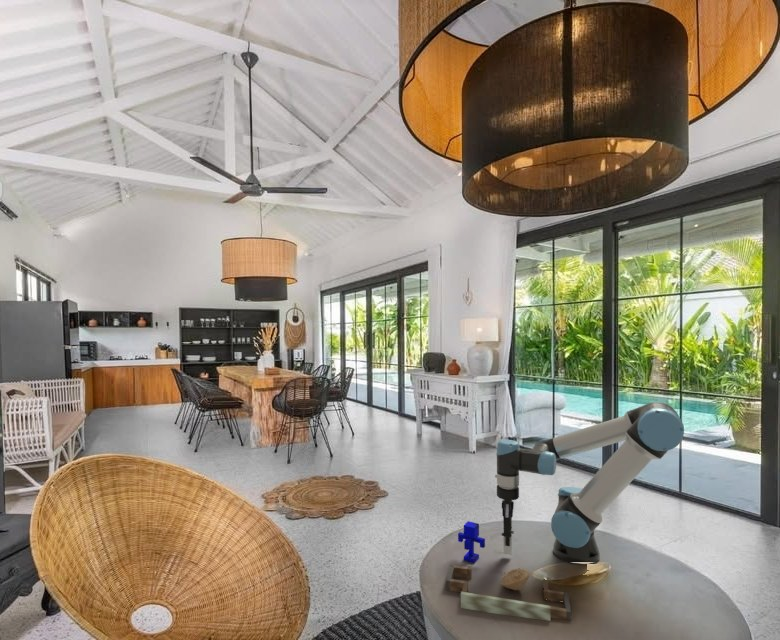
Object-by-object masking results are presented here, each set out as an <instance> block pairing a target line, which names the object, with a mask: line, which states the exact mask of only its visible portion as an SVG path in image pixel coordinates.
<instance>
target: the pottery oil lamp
mask: <svg viewBox="0 0 780 640" xmlns="http://www.w3.org/2000/svg"><path fill="white" fill-rule="evenodd" d="M530 575H531V572H529V571H527V570H526V569H524V568H521V567H519V568H515V569H511V570H508V571H505V572H504V575H503V577H502V579H501V586H502V587H504V588H506V589H509V590H512V591H519V590H522V589H524V588H525V587H526V584H527V583H528V581H529V578H530Z"/></svg>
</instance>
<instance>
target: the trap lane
mask: <svg viewBox="0 0 780 640" xmlns="http://www.w3.org/2000/svg"><path fill="white" fill-rule="evenodd" d="M448 570H449V571H448V573H447V577H446V580H445V581H446V582H445V589H446V591H448V592H449V591H450V592H456V593H460V609H465V610H471V611H477V612H483V613H489V614H497V615H504V616H512V617H516V618H517V617H519V618H526V619H533V620H534V619H535V620H542V621H549V622H551V619H558V620H565V621H572V610H571V602H570V597H569V592H566V591H565V592H564V591H559V590H552V589H549V582H548V579H547V580H545V579H543V578H542V583H543V584H542V586H543V587H542V588H544V590H543V600H544V599H547V600H552V601H551V602H553V601H563V602H564V603H563V606H565V607H564V608H563V607H556V606H551V605H546V604H543V603H542V604H541V603H535V602H529V601H522V600H516V599H510V598H504V597H499V596H498V597H497V596H493V595H485V594H479V593H472V592H469V581H466V580H460V579H455V578H454V577H456V578H461V579H468V580H472V575H473V574H472V565H471V566H470V565H467V566H463V565H453V564H450V567H449V569H448Z"/></svg>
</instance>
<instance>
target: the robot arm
mask: <svg viewBox="0 0 780 640" xmlns="http://www.w3.org/2000/svg"><path fill="white" fill-rule="evenodd" d="M684 434H685V427H684V423H683V420H682V419H681V418H680V416H679V414H678V412H677V411H676V410H675V409H674V408H673V407H672V406H671V405H669V404H667V403H663V402H660V401H658V402H657V401H656V402H655V401H654V402H649V403H646V404H644V405H641V406H639V407H636V408H634V409H631V410H627V411H625V412H624V415H623V416H618V417H616V418H612V419H610V420H607V421H602V422H600V423H596V424H594V425H590V426H586V427H584V428H580V429H578V430H574V431H571V432H568V433H564V434H561V435H558V436H555V437H551V438H550V439H549V438H548V439H545V438H543V439H540V440H538V441H537V442H535V444H534V446H533V448H532V449H528V448H522V447H520V444H519V442H518V441H516V440H512V439H501V440H499V441H498V442H497V446H496V474H495V475H494V477H495V478H496V484H497V485H496V496H497V497H498V499H501V510H502V513H501V514H502V515H501V516H502V517H503V519H502V520H503V522H502V523H503V532H501V536H502V537H503V554H504V555H509V556H510V555H511V556H513V555H512V554H513V547H512V546H513V545H512V544H513V542H512V541H513V534H514V532H515V531H514V530H512V529H513V525H512V524H513V523H512V521H513V519H512V518H513V517H514V505H515V501H516V500H518V499H519V498H520V488H519V486H520V472H526V473H531V474H537V475H538V474H539V475H541V476H553V475H555V473H556V470H557V469H556V468H557V461H558V460H562V459H565V458H569V457H573V456H575V455H579V454H582V453H586V452H589V451H592V450H593V451H594V450H597V449H599V448H603V447H606V446H611V445H613V444H618V443H621V442H623V443H622V444H621V445H620V446H619V447H618V449H616V450H615V452H614V453H613V454H612V455H611V456H610V457H609V458H608V459H607V460H606V462H605V463H604V464H603V465H602V466H601V467H600V468H599V470H597V472H596V473H595V474H594V475H593V476H592V478H590V480H589V481H588V482H587V483H586V484H585V485H584V487H582V488H581V487H573V486H563V487H559V489H558V494H557V497H558V503H557V506H556V508H555V511H554V512H553V513H554V514H553V515H552V516H551V519H550V520H551V521H550V522H551V523H550V525H551V526H550V527H551V528H550V529H551V532H552V534H553V536H554V538H555V539H554V542H553V545H552V546H553V554H554V555H555V556H556V557H557V559H559V560H561V561H564V562H565V563H569V562H596V563H598V562H599V560H600V556H601V555H600V554H601V553H600V550H599V547H598V544H597V540H596V537H595V530H596V529H597V528H598V527H599V526H600V525H601V524H602V523H603V513H604V512H605V511H606V510H607V508H609V507H610V505H611V504H612V503H613V502H614V501H615V500H617V498H618V497H619V496H620V495H621V494H622V492H623V491H624V490H625V489H626V488H627V487H628V486H629V485H630V484H631V482H632V481H634V479H635V478H636V477H637V476H638V475H639V474H640V473H641V472H642V471H643V470H644V469H645V468H646V466H647V465H648V464H649V463H650V462H651V461H652V460H661V459H662V458H663V457H664V456H665V455H666V454H667V452H668V451H671V450H673V449H675V448H677V447H679V445H680V444H681V442H682V441H683V438H684Z"/></svg>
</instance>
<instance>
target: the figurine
mask: <svg viewBox="0 0 780 640" xmlns="http://www.w3.org/2000/svg"><path fill="white" fill-rule="evenodd" d="M479 535H480V523H477V522H473V521H469V520H468V521H466V522H465V523H464V524H463V532H460V531H459V532H457V542H459V543H464V544H463V545H464V547H463V548H464V550H466V551H467V552H466V553H465V554H464V556H463V561H464V562H469V563H472V564H475V563H477V561H478V560H479V559H480V554H478V553H476V552H475V543H478V544H479V548H482V549H484V548H486V538H483V537H479Z"/></svg>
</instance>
